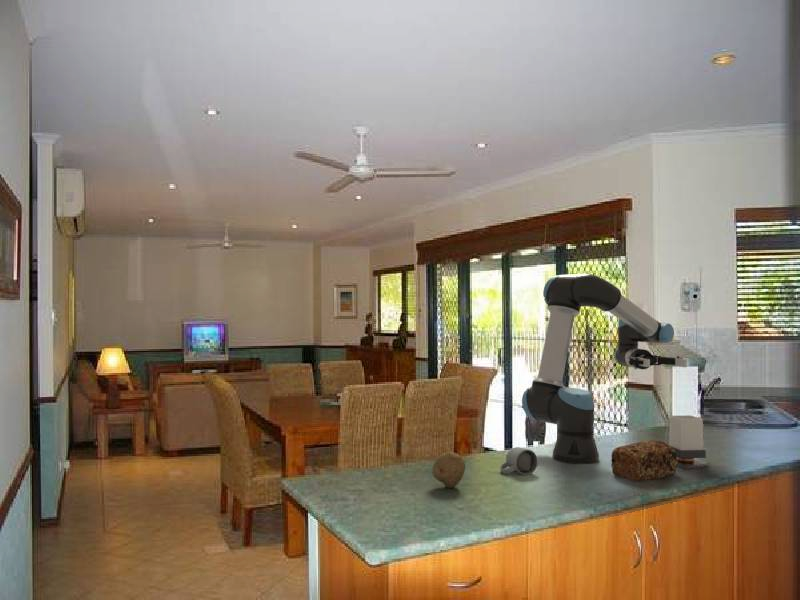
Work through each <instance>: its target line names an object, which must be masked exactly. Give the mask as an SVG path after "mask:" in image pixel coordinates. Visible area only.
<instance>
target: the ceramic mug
mask: <svg viewBox="0 0 800 600" xmlns="http://www.w3.org/2000/svg"><path fill="white" fill-rule="evenodd" d="M538 460H539V459H538V456H537V454H536V452H535V451H533V450H532V449H530V448H529V449H528V448H523V447H519V446H517V447H512V448H511V449H510V450H508V452H507V454H506V458H505V462H504V463H502V464H501V465H500V466H499V470H500V473H501V474H504V475H505V474H506V475H508V474H511V473H514V472H517V473H518V474H521V475H523V476H529V475H532V474H533V473H535V471H536V470H537V467H538V463H539V461H538Z"/></svg>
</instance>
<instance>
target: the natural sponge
mask: <svg viewBox="0 0 800 600" xmlns="http://www.w3.org/2000/svg"><path fill="white" fill-rule="evenodd" d="M465 471H466V463H465V460H464V459H463V457H462V456H461V455H460V454H459V453H456V452H453V451H446V452H443V453H441V454H440V455H438V456H437V458H436V460H435V461H434V464H433V466H432V475H433V477H434V479H436V480H437V481H439V482H440V483H442V484H443V485H444V486H445V487H447V488H449V489H450V488H451V489H452V488H454V487H457V486H458V484H459V483H460V482H461V481H462V479H463V477H464V474H465Z"/></svg>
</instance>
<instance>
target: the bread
mask: <svg viewBox="0 0 800 600" xmlns="http://www.w3.org/2000/svg"><path fill="white" fill-rule="evenodd" d="M610 461H611V469H612V474H613V476H617V478H620V479H621V478H625V479H627V480H629V481H633V482H636V483H640V481H641V482H643V481H644V482H645V481H649V480H650V481H651V480H654V479H655V480H656V479H660V478H666V477H670V476H672V475H675V473H676V471H677V470H676V469H677V466H676V464H677V456H676V451H675V450H674V449H673V448H671V447H670V446H669V444H667V443H665V442H664V441H661V440H657V439H655V440H654V439H649V440H645V441H637V442H635V443H630V444H625V445H621V446H618V447H615V448H614V449H613V450H612V451H611V460H610Z"/></svg>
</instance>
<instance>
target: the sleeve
mask: <svg viewBox="0 0 800 600" xmlns="http://www.w3.org/2000/svg"><path fill="white" fill-rule="evenodd" d="M703 423H704V419H703V418H700V417H697V416H694V415H669V433H668V435H669V436H668V437H669V438H668V439H669V444H668V445H669V446H671V447H674V448H677V449H679V450H704V448H703V447H704V445H703V444H704V439H703V438H704V437H703V434H704V429H703V428H704V424H703Z"/></svg>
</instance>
